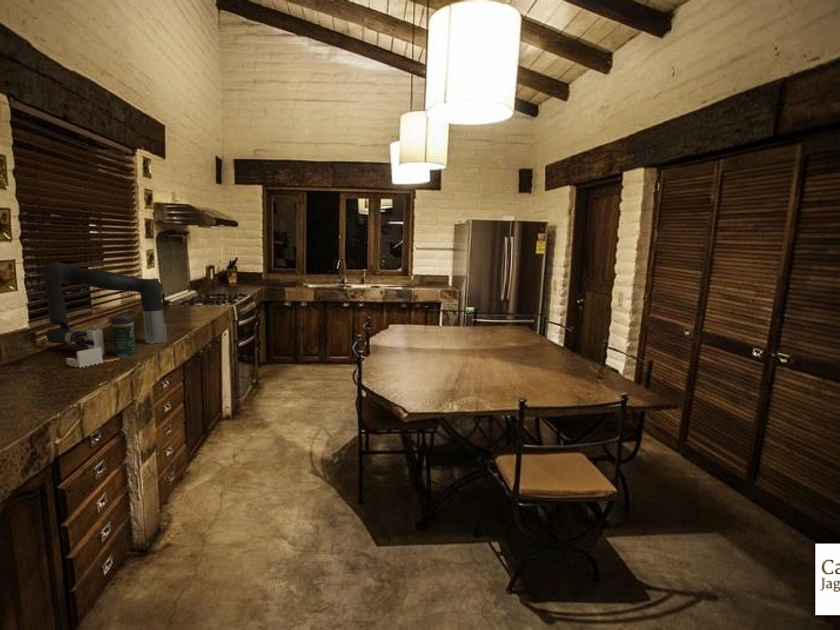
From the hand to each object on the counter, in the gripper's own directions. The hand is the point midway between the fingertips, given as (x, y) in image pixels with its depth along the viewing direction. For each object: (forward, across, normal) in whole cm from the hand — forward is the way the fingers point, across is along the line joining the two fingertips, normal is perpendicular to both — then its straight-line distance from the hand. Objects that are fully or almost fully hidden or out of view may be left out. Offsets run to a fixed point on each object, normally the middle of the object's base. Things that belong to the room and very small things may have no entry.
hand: (99, 342), depth 223 cm
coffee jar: (+6, +8, +7) cm, 12 cm away
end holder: (+9, -12, +6) cm, 17 cm away
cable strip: (+12, -4, +7) cm, 14 cm away
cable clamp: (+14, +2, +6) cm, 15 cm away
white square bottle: (-3, 0, +6) cm, 7 cm away
